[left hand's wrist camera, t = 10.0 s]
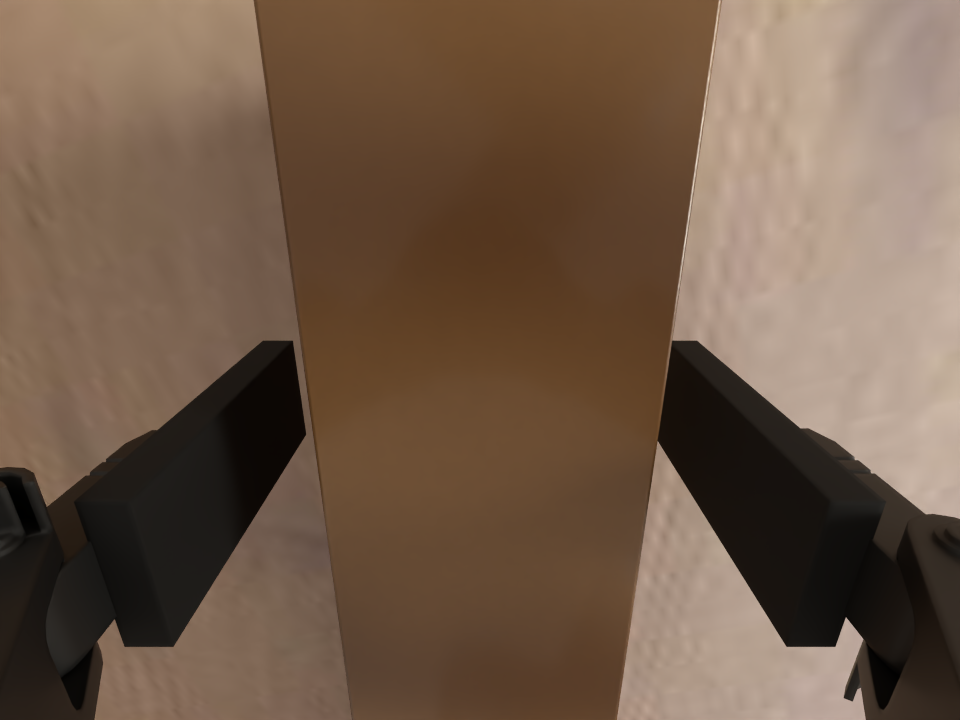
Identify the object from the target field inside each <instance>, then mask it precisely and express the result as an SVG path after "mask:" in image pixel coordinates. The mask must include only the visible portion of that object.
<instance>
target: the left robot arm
mask: <svg viewBox="0 0 960 720" xmlns="http://www.w3.org/2000/svg"><path fill="white" fill-rule="evenodd" d="M305 436H306V430H305V423H304V416H303V409H302V402H301V395H300V388H299V381H298V374H297V367H296V360H295V353H294V346H293V341H262V342H261V343H260V344H259V345H258V346H256V347H255V348H254V349H253V350H252V351H250V352H249V353H248V354H247V355H246V356H245V357H243V358H242V359H241V360H240V361H239V362H237V363H236V364H235V365H234V366H233V367H232V368H230V369H229V370H228V371H227V372H226V373H225V374H223V375H222V376H221V377H220V378H219V379H217V380H216V381H215V382H214V383H213V384H212V385H210V386H209V387H208V388H207V389H206V390H204V391H203V392H202V393H201V394H200V395H199V396H197V397H196V398H195V399H194V400H193V401H192V402H190V403H189V404H188V405H187V406H186V407H184V408H183V409H182V410H181V411H180V412H179V413H177V414H176V415H175V416H174V417H173V418H171V419H170V420H169V421H168V422H167V423H166V424H164V425H163V426H162V427H161V428H160V429H159V430H152V431H150V432H148V433H146V434H144V435H142V436H140V437H138V438H136V439H134V440H132V441H130V442H128V443H126V444H124V445H123V446H122V447H121V448H119V449H118V450H117V451H116V452H114V453H113V454H112V455H111V456H110V457H108V458H107V459H106V462H102V463H101V464H100V465H98V466H97V467H96V468H95V469H93V470H92V471H91V472H90V476H85V477H84V478H82V479H81V480H80V481H79V482H77V483H76V484H75V485H74V486H72V487H71V488H70V489H69V490H68V491H66V492H65V493H64V494H63V495H61V496H60V497H59V498H58V499H56V500H55V501H54V502H53V503H51V504H50V505H49V506H48V507H46V504H45V502H44V499H43V496H42V494H41V491H40V488H39V486H38V483H37V480H36V478H35V475H34V473H33V472H31V471H29V470H27V469H25V468H14V467H5V468H0V720H94V718H95V712H96V705H97V699H98V692H99V686H100V679H101V673H102V666H103V660H102V654H101V650H100V647H99V645H98V642H97V641H98V639H99V638H100V637H101V636H102V634H103V633H104V632H105V631H106V629H107V628H108V627H109V625H110V624H111V623H112V622H113V620H114V619H115V621H116V624H117V626H118V629H119V632H120V635H121V638H122V641H123V643H124V646H125V647H173V646H174V645H175V643H176V642H177V640H178V638H179V637H180V635H181V634H182V632H183V630H184V629H185V627H186V626H187V624H188V622H189V621H190V619H191V618H192V616H193V614H194V613H195V611H196V610H197V608H198V606H199V605H200V603H201V602H202V600H203V599H204V597H205V595H206V594H207V592H208V591H209V589H210V587H211V586H212V584H213V583H214V581H215V579H216V578H217V576H218V575H219V573H220V571H221V570H222V568H223V567H224V565H225V563H226V562H227V560H228V559H229V557H230V555H231V554H232V552H233V551H234V549H235V547H236V546H237V544H238V543H239V541H240V539H241V538H242V536H243V535H244V533H245V531H246V530H247V528H248V527H249V525H250V523H251V522H252V520H253V519H254V517H255V515H256V514H257V512H258V511H259V509H260V507H261V506H262V504H263V503H264V501H265V499H266V498H267V496H268V495H269V493H270V491H271V490H272V488H273V487H274V485H275V483H276V482H277V480H278V479H279V477H280V475H281V474H282V472H283V471H284V469H285V467H286V466H287V464H288V463H289V461H290V459H291V458H292V456H293V455H294V453H295V451H296V450H297V448H298V447H299V445H300V444H301V442H302V440H303V439H304V437H305ZM658 442H659V444H660V445H661V447H662V448H663V450H664V452H665V453H666V455H667V456H668V458H669V460H670V461H671V463H672V464H673V466H674V467H675V469H676V471H677V472H678V474H679V475H680V477H681V479H682V480H683V482H684V483H685V485H686V487H687V488H688V490H689V491H690V493H691V495H692V496H693V498H694V499H695V501H696V503H697V504H698V506H699V507H700V509H701V511H702V512H703V514H704V515H705V517H706V519H707V520H708V522H709V523H710V525H711V527H712V528H713V530H714V531H715V533H716V535H717V536H718V538H719V539H720V541H721V543H722V544H723V546H724V547H725V549H726V551H727V552H728V554H729V555H730V557H731V559H732V560H733V562H734V563H735V565H736V567H737V568H738V570H739V571H740V573H741V575H742V576H743V578H744V579H745V581H746V583H747V584H748V586H749V587H750V589H751V591H752V592H753V594H754V595H755V597H756V599H757V600H758V602H759V603H760V605H761V607H762V608H763V610H764V611H765V613H766V615H767V616H768V618H769V619H770V621H771V622H772V624H773V626H774V627H775V629H776V630H777V632H778V634H779V635H780V637H781V638H782V640H783V642H784V643H785V645H786V646H787V647H835V646H836V643H837V641H838V638H839V635H840V632H841V629H842V626H843V624H844V621H845V618H847V619H848V620H849V621H850V623H851V624H852V625H853V626H854V628H855V629H856V630H857V631H858V633H859V634H860V635H861V636H862V638H863V639H864V640H863V642H862V645H861V647H860V650H859V653H858V655H857V658H856V661H855V663H854V666H853V669H852V671H851V674H850V677H849V679H848V682H847V685H846V688H845V694H844V698H845V699H848V700H850V701H853V699H854V696H855V694H856V691H857V689H859V688H861V691H862V697H863V704H864V710H865V717H866V720H960V519H958V518H955V517H949V516H942V515H936V514H928V515H926V514H924V513H923V512H922V511H921V510H919V509H918V508H917V507H916V506H915V505H913V504H912V503H911V502H910V501H908V500H907V499H906V498H905V497H903V496H902V495H901V494H900V493H898V492H897V491H896V490H895V489H893V488H892V487H891V486H890V485H888V484H887V483H886V482H885V481H883V480H882V479H881V478H880V477H878V476H877V475H876V474H871V472H870V471H871V470H870V469H868V468H867V467H866V466H865V465H863V464H862V463H861V462H860V461H858V460H854V457H853V456H852V455H851V454H850V453H848V452H847V451H846V450H845V449H844V448H842V447H841V446H840V445H839V444H837V443H836V442H835V441H833V440H831V439H829V438H827V437H825V436H822V435H820V434H818V433H816V432H814V431H812V430H810V429H800V428H799V427H798V426H797V425H796V424H794V423H793V422H792V421H791V420H790V419H789V418H787V417H786V416H785V415H784V414H783V413H781V412H780V411H779V410H778V409H777V408H776V407H774V406H773V405H772V404H771V403H770V402H768V401H767V400H766V399H765V398H764V397H763V396H761V395H760V394H759V393H758V392H757V391H756V390H754V389H753V388H752V387H751V386H750V385H748V384H747V383H746V382H745V381H744V380H743V379H741V378H740V377H739V376H738V375H737V374H735V373H734V372H733V371H732V370H731V369H730V368H728V367H727V366H726V365H725V364H724V363H723V362H721V361H720V360H719V359H718V358H717V357H715V356H714V355H713V354H712V353H711V352H710V351H708V350H707V349H706V348H705V347H704V346H702V345H701V344H700V343H699V342H698V341H672V345H671V352H670V359H669V365H668V372H667V379H666V386H665V393H664V400H663V406H662V413H661V420H660V427H659V434H658Z"/></svg>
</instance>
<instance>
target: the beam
mask: <svg viewBox="0 0 960 720" xmlns="http://www.w3.org/2000/svg"><path fill="white" fill-rule="evenodd" d="M721 3H722V0H254V6H255V13H256V20H257V28H258V35H259V42H260V49H261V57H262V64H263V71H264V79H265V86H266V93H267V101H268V108H269V115H270V122H271V130H272V137H273V144H274V152H275V159H276V166H277V174H278V181H279V188H280V195H281V203H282V210H283V217H284V225H285V232H286V239H287V247H288V254H289V261H290V268H291V276H292V283H293V290H294V298H295V305H296V312H297V320H298V327H299V334H300V341H301V349H302V356H303V363H304V371H305V378H306V385H307V393H308V400H309V407H310V414H311V422H312V429H313V436H314V444H315V451H316V458H317V466H318V473H319V480H320V487H321V495H322V502H323V509H324V517H325V524H326V531H327V539H328V546H329V553H330V560H331V568H332V575H333V582H334V590H335V597H336V604H337V612H338V619H339V626H340V633H341V641H342V648H343V655H344V663H345V670H346V677H347V685H348V692H349V699H350V706H351V714H352V720H617V714H618V707H619V700H620V693H621V687H622V680H623V673H624V666H625V659H626V652H627V646H628V639H629V632H630V625H631V618H632V611H633V605H634V598H635V591H636V584H637V577H638V570H639V564H640V557H641V550H642V543H643V536H644V529H645V523H646V516H647V509H648V502H649V495H650V488H651V482H652V475H653V468H654V461H655V454H656V447H657V441H658V434H659V427H660V420H661V413H662V406H663V400H664V393H665V386H666V379H667V372H668V365H669V359H670V352H671V345H672V338H673V331H674V324H675V318H676V311H677V304H678V297H679V290H680V283H681V277H682V270H683V263H684V256H685V249H686V242H687V236H688V229H689V222H690V215H691V208H692V201H693V195H694V188H695V181H696V174H697V167H698V160H699V154H700V147H701V140H702V133H703V126H704V119H705V113H706V106H707V99H708V92H709V85H710V78H711V72H712V65H713V58H714V51H715V44H716V37H717V31H718V24H719V17H720V10H721Z"/></svg>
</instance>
